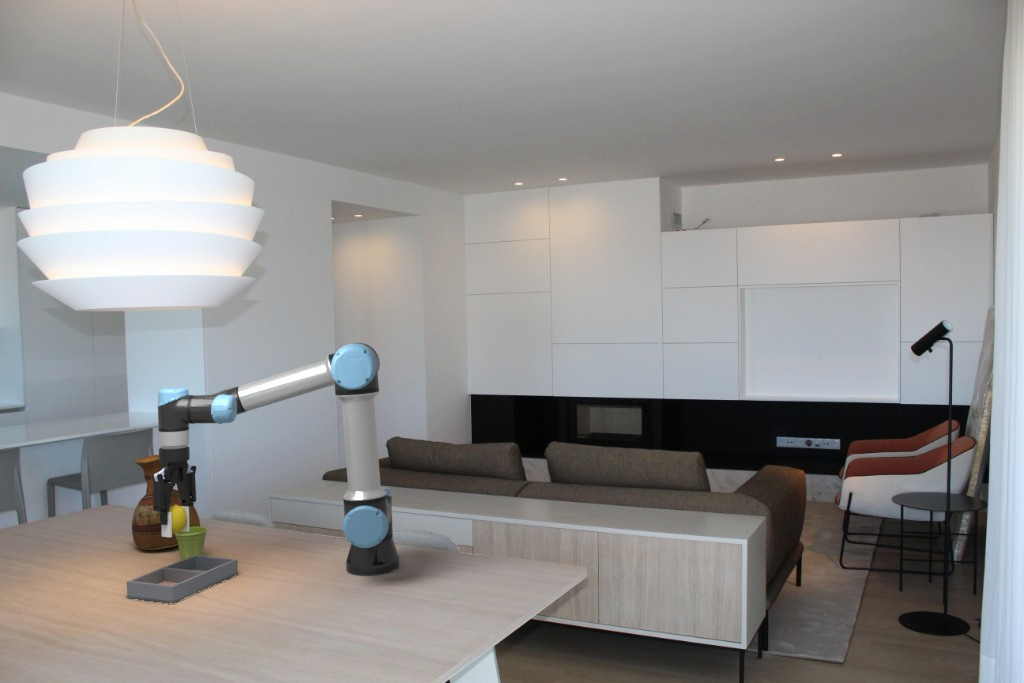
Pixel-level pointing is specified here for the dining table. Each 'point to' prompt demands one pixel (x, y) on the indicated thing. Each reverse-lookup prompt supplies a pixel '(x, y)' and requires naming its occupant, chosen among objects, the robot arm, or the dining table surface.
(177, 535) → the plant pot
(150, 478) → the ceramic pitcher
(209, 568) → the sorting tray
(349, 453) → the robot arm
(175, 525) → the lemon
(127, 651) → the dining table surface
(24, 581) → the dining table surface
